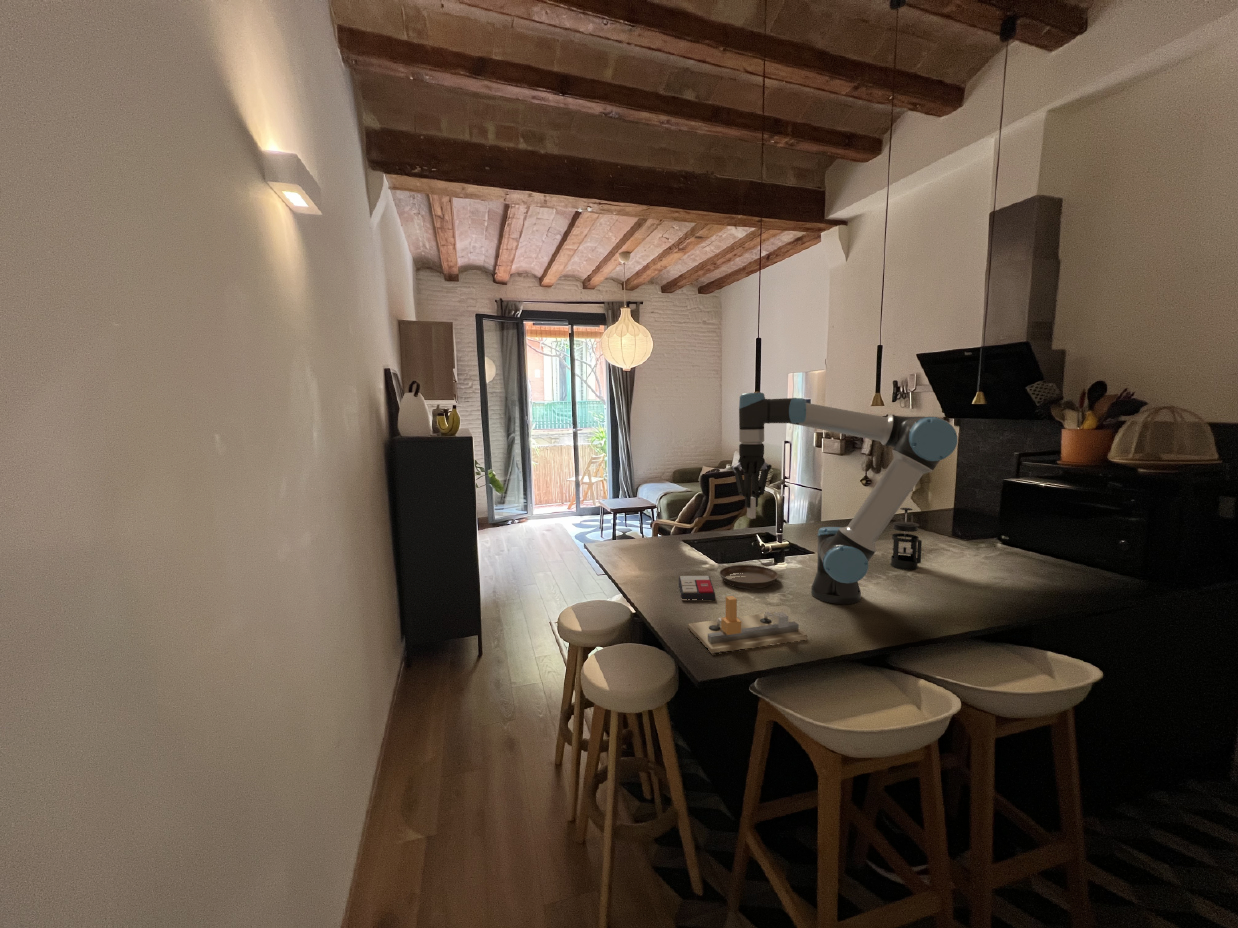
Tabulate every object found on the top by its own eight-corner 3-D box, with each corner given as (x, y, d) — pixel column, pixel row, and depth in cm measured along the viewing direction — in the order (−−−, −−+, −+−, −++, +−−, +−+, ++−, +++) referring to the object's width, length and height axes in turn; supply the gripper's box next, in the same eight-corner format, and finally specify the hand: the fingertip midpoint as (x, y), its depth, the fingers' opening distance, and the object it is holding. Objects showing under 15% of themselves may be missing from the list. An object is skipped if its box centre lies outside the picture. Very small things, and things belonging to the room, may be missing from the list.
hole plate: (774, 616, 151) (775, 611, 151) (807, 640, 136) (807, 634, 135) (687, 628, 144) (687, 623, 144) (711, 654, 129) (711, 648, 129)
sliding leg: (724, 623, 142) (724, 586, 141) (741, 638, 133) (741, 599, 131) (711, 625, 141) (711, 588, 140) (727, 640, 132) (727, 601, 130)
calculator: (681, 591, 165) (678, 574, 180) (681, 603, 166) (678, 585, 180) (715, 591, 164) (709, 574, 179) (715, 603, 165) (709, 585, 180)
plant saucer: (708, 576, 189) (708, 568, 189) (754, 569, 196) (755, 561, 196) (740, 595, 170) (740, 585, 169) (790, 586, 177) (790, 577, 177)
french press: (883, 563, 199) (885, 506, 196) (901, 560, 202) (903, 504, 199) (909, 572, 188) (912, 512, 185) (927, 569, 191) (930, 509, 188)
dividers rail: (780, 618, 146) (780, 601, 146) (799, 632, 137) (799, 614, 137) (697, 629, 140) (697, 612, 140) (711, 645, 131) (711, 626, 130)
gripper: (764, 441, 161) (763, 513, 163) (726, 443, 158) (726, 516, 160) (777, 442, 153) (776, 518, 156) (738, 444, 150) (738, 521, 153)
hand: (751, 517), depth 158 cm, fingers closed
